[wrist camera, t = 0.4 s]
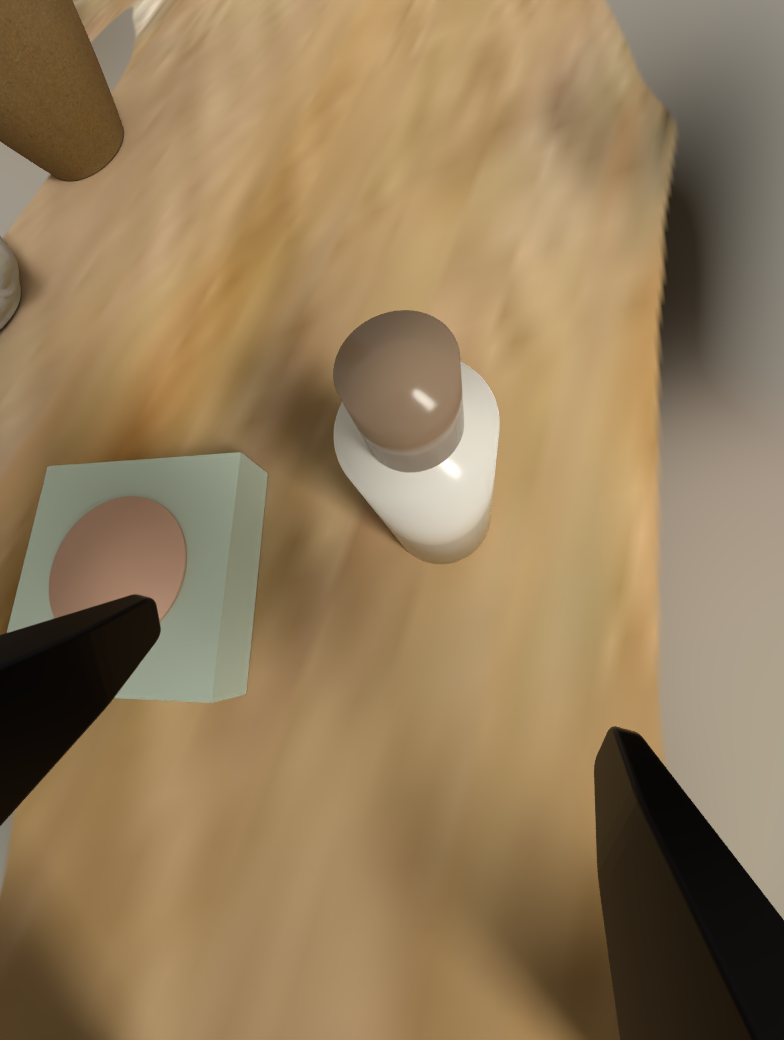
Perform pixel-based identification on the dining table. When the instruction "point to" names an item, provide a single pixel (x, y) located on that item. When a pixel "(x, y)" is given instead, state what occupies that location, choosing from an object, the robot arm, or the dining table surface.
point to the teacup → (8, 283)
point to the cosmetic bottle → (417, 433)
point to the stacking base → (155, 562)
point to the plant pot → (54, 90)
